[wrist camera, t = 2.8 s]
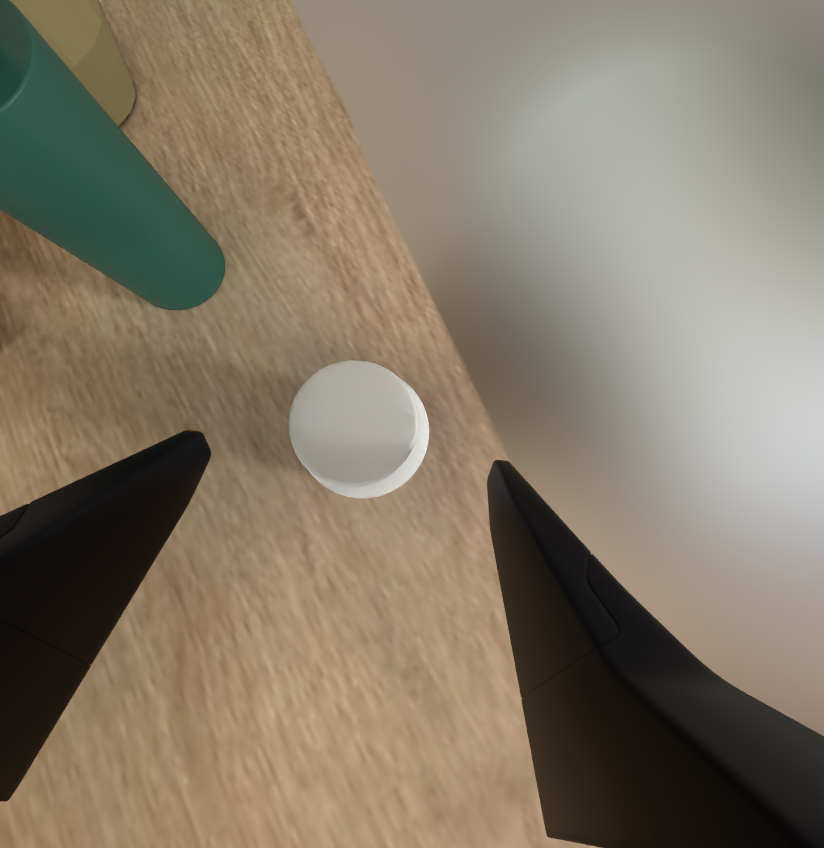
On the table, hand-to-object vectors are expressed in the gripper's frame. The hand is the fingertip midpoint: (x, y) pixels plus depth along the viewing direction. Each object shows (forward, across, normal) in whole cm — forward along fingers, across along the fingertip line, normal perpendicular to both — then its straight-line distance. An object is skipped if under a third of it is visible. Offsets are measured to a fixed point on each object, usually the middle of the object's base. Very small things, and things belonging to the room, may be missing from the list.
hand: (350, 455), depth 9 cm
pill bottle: (+7, 0, +6) cm, 9 cm away
